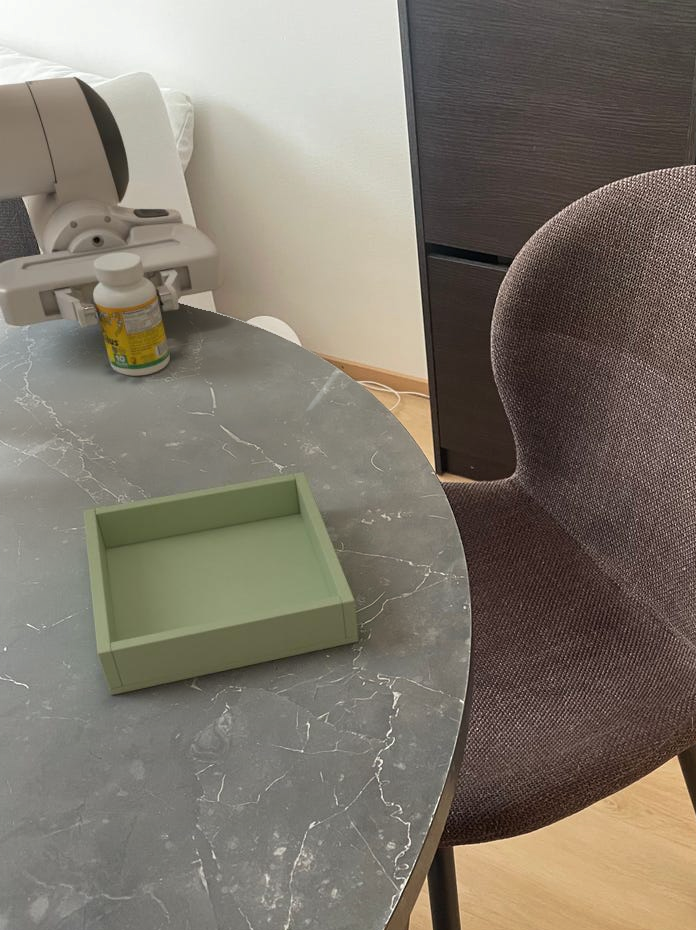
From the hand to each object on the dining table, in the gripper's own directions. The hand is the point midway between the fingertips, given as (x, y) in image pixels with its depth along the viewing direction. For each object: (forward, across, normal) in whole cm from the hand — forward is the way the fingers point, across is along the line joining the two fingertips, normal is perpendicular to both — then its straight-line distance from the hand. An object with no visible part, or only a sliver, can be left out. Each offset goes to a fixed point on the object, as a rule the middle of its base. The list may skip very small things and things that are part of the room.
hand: (129, 310), depth 92 cm
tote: (+35, -3, +6) cm, 36 cm away
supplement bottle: (-1, 0, +6) cm, 6 cm away
